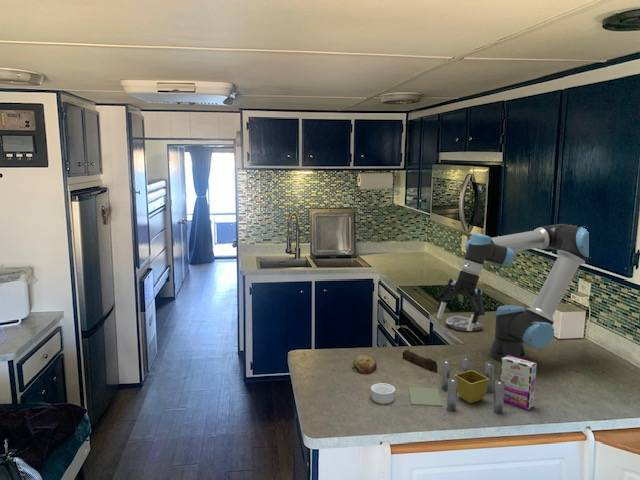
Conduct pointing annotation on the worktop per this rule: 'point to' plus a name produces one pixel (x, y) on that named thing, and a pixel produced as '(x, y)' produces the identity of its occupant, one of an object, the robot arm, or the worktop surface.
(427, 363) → the brown wood log
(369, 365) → the bread roll
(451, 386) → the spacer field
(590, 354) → the worktop surface
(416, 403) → the pad
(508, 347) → the robot arm
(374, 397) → the ramekin
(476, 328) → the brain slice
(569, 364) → the worktop surface
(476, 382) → the flower pot
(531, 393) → the candy bar box
